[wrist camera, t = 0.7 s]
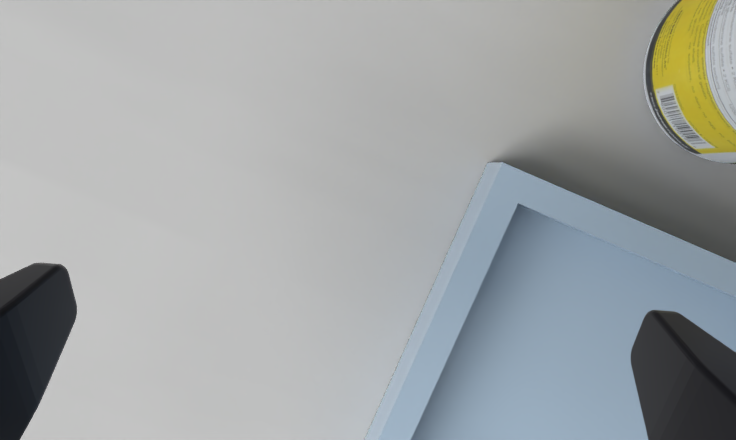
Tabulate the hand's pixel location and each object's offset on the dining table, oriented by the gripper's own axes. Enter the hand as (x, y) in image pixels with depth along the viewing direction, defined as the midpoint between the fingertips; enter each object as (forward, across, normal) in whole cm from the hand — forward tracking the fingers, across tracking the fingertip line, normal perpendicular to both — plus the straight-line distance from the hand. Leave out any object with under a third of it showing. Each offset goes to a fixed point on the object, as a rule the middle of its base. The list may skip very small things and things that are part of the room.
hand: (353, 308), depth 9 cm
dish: (+9, -8, +11) cm, 16 cm away
